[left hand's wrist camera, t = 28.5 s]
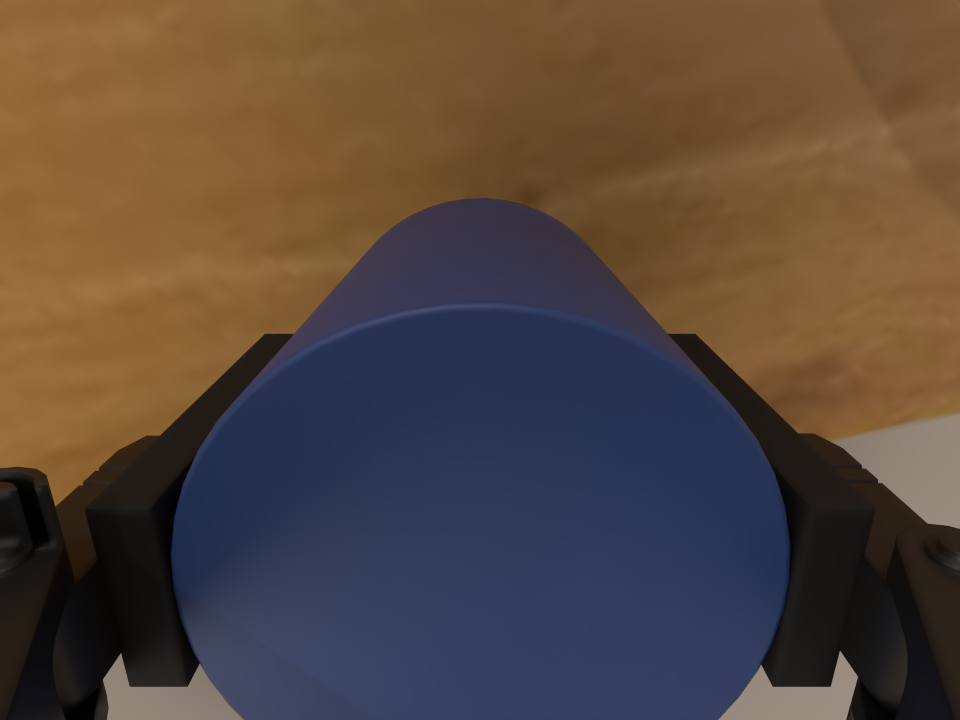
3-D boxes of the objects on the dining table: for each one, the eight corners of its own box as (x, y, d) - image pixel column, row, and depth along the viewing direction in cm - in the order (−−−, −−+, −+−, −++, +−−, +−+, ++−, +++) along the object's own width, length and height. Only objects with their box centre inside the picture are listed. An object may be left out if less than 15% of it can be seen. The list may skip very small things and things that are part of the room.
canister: (519, 134, 15) (580, 149, 6) (672, 374, 17) (892, 660, 8) (281, 308, 17) (31, 538, 7) (449, 508, 19) (418, 880, 10)
